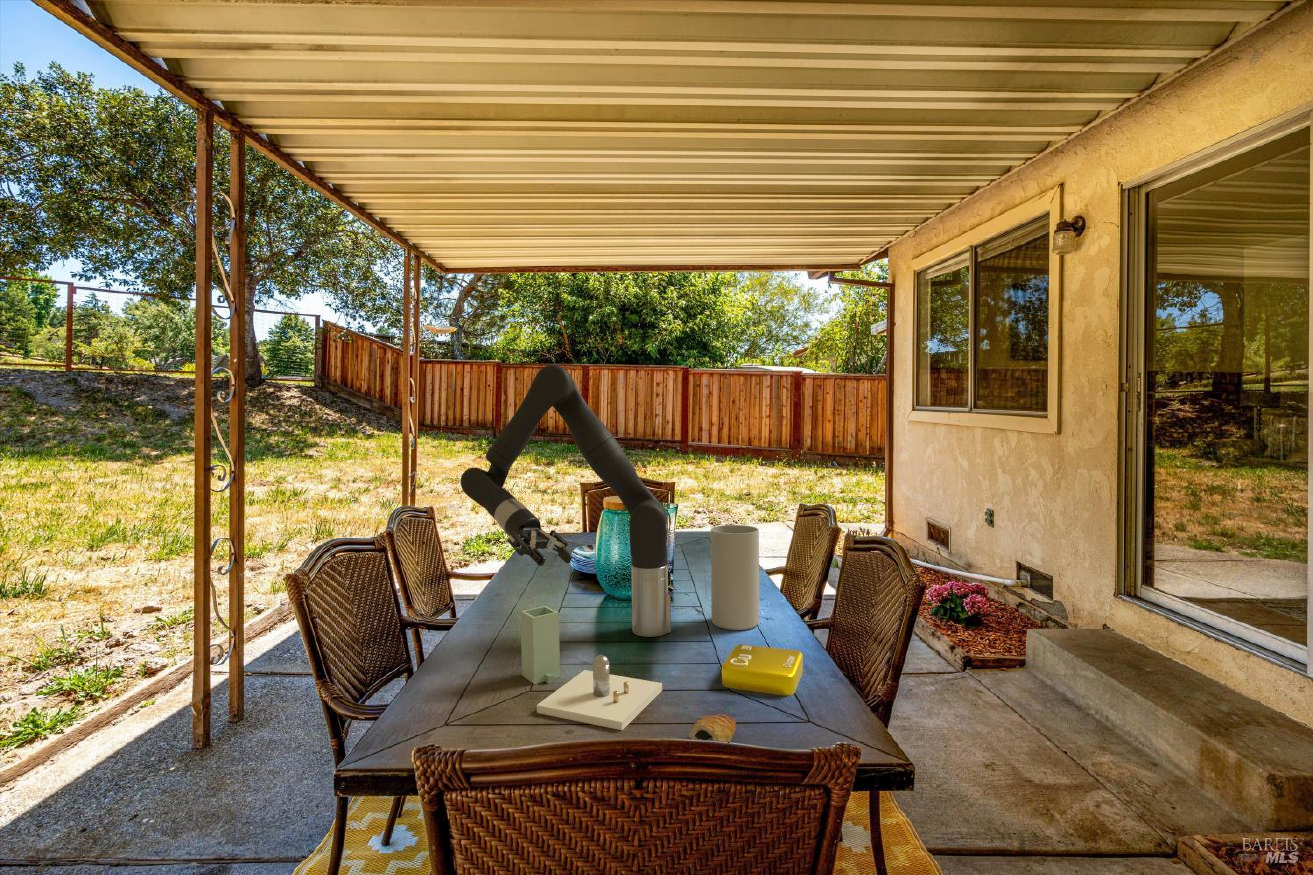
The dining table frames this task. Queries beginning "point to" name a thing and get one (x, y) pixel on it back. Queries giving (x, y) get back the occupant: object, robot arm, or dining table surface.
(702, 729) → the pastry
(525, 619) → the hollow square tube
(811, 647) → the dining table surface
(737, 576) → the cylinder vase
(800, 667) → the element tile
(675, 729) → the dining table surface
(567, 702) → the base plate
